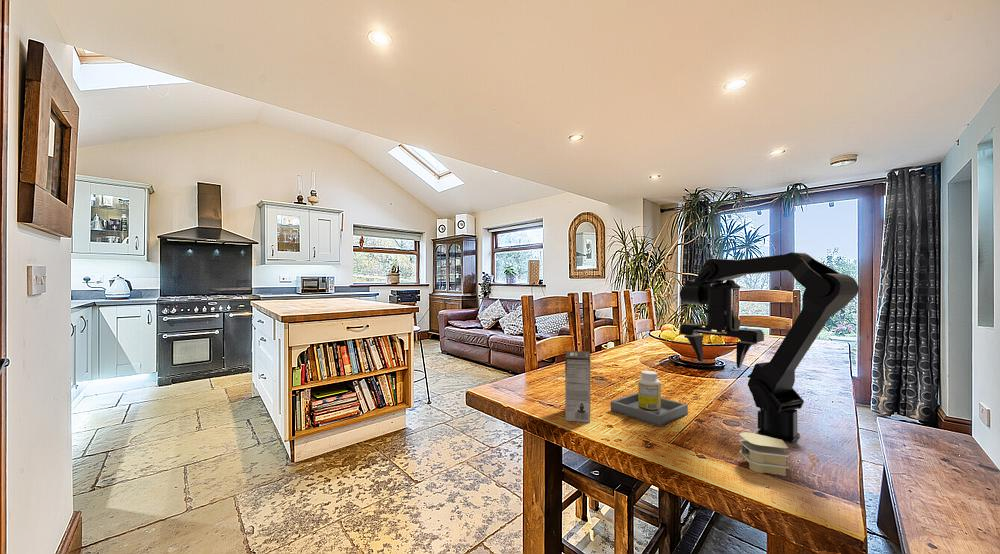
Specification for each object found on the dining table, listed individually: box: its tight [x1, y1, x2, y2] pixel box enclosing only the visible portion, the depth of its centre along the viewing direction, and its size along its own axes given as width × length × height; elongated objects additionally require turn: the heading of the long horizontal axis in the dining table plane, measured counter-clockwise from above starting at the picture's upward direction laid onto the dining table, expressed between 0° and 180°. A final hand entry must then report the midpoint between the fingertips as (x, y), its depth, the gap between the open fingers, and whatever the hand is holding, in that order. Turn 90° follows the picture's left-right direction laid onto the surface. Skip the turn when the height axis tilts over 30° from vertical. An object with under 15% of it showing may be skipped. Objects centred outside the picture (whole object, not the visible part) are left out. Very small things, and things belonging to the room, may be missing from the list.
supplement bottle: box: [637, 370, 662, 413], centre depth 98 cm, size 6×6×10 cm
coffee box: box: [564, 350, 592, 423], centre depth 96 cm, size 9×6×16 cm
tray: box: [610, 392, 689, 428], centre depth 98 cm, size 14×14×2 cm
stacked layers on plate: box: [738, 431, 790, 477], centre depth 69 cm, size 10×9×6 cm
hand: (719, 364), depth 98 cm, fingers open, 9 cm apart
